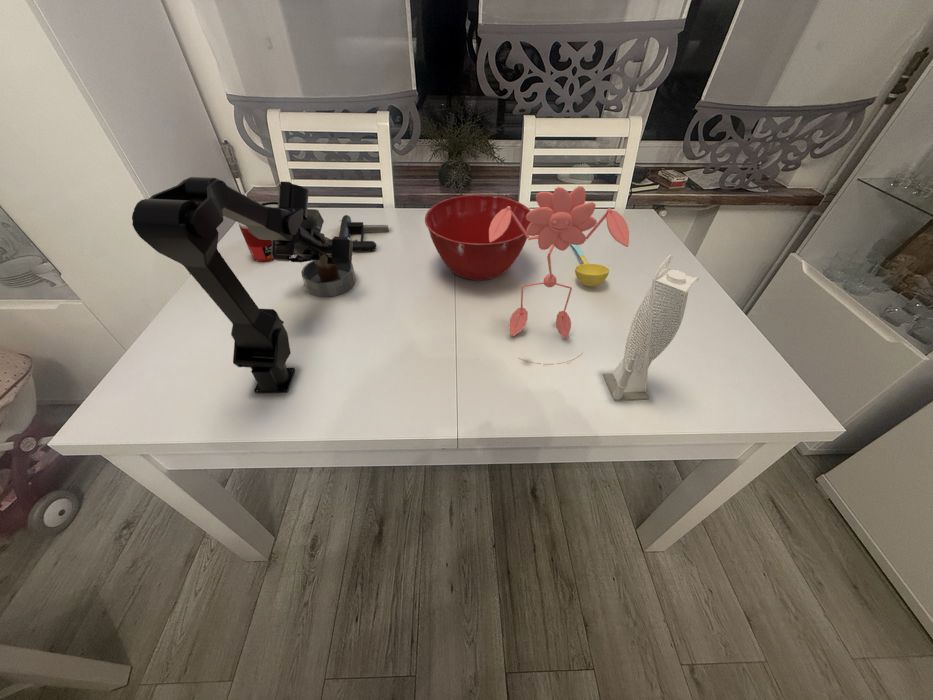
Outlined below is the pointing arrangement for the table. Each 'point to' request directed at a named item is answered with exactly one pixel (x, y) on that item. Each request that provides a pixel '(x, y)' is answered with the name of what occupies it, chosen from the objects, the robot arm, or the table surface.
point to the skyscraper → (650, 332)
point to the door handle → (359, 228)
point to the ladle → (590, 271)
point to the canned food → (257, 245)
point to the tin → (328, 288)
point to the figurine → (557, 237)
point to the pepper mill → (326, 267)
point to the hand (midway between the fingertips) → (326, 258)
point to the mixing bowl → (476, 235)
